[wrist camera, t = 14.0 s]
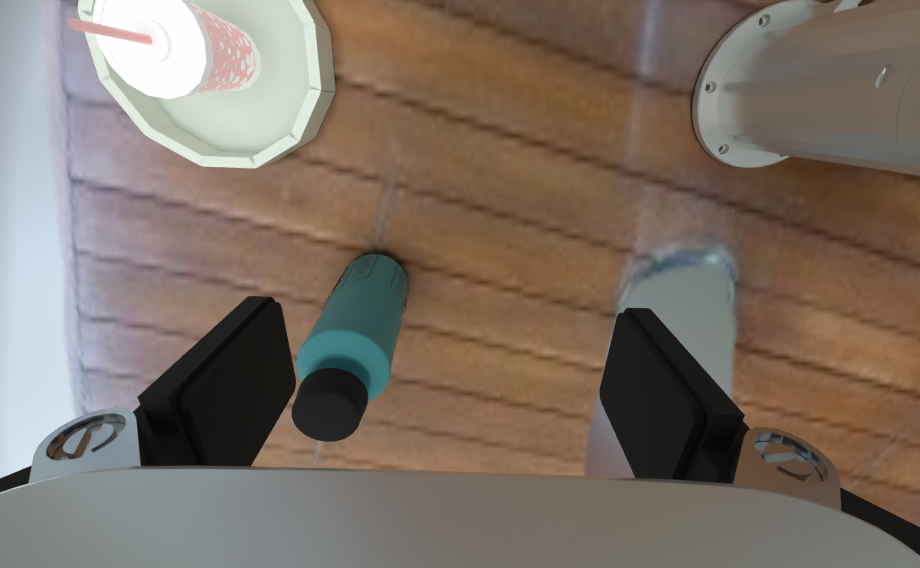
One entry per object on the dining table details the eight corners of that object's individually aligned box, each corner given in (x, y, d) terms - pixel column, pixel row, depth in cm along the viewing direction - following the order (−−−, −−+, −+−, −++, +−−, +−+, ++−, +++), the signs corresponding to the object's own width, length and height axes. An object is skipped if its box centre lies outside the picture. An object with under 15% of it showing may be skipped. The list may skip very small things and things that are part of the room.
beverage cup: (286, 56, 30) (168, 22, 18) (244, 117, 32) (111, 125, 19) (214, -11, 28) (26, -103, 16) (175, 58, 30) (-24, 25, 17)
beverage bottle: (350, 240, 38) (260, 365, 20) (416, 252, 39) (388, 383, 21) (345, 298, 41) (261, 454, 22) (407, 308, 41) (375, 467, 23)
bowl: (156, -129, 26) (110, -165, 23) (367, 22, 30) (355, 11, 27) (106, 91, 32) (62, 90, 28) (289, 194, 36) (271, 204, 32)
